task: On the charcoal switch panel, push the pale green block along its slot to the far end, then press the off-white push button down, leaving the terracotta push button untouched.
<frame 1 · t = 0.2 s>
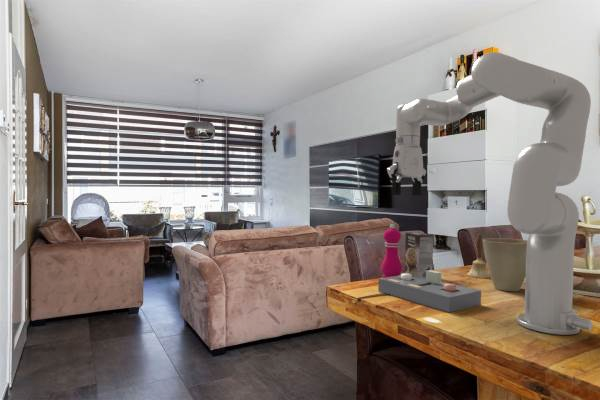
hand: (406, 195, 131), 30 cm above the table, fingers open, 9 cm apart
plant pot: (506, 289, 132), on the table
terracotta button: (449, 288, 112), point 4 cm above the table, slide at 0.0 cm
off white button: (406, 277, 126), point 4 cm above the table, slide at 0.0 cm
coffee box: (418, 277, 150), on the table
pale green block: (433, 282, 121), point 4 cm above the table, slide at 0.0 cm
hand bell: (478, 276, 152), on the table
switch panel: (426, 297, 119), on the table
pepper mill: (391, 281, 142), on the table
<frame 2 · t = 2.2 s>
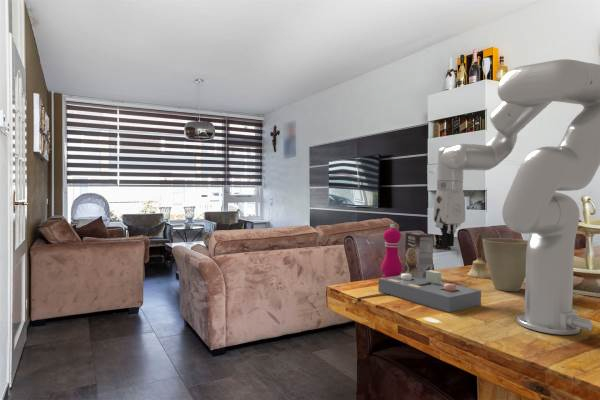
hand: (447, 245, 125), 15 cm above the table, fingers closed
nothing on the table moved.
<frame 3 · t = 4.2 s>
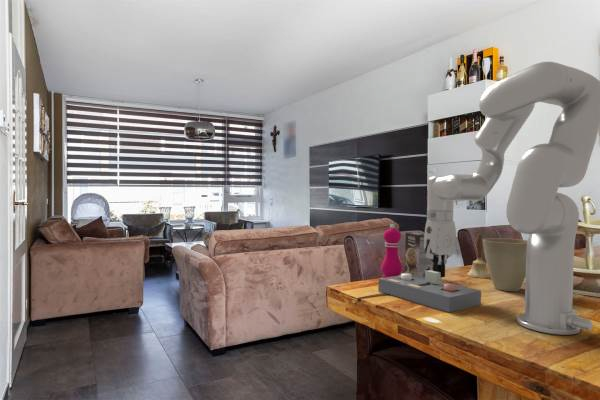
hand: (438, 276, 122), 6 cm above the table, fingers closed
pale green block: (432, 282, 121), point 4 cm above the table, slide at 0.4 cm, touching gripper
everything else where it was.
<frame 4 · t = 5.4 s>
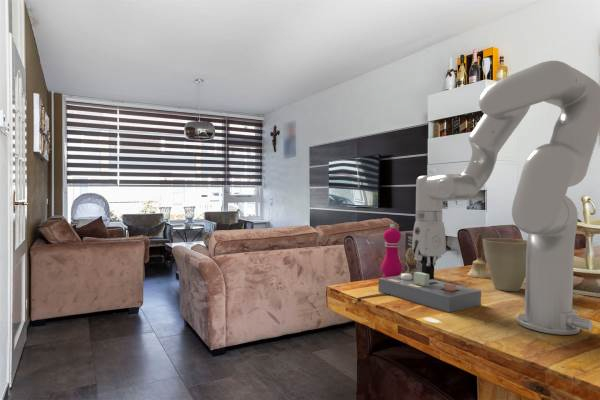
hand: (427, 278, 119), 6 cm above the table, fingers closed
pale green block: (421, 284, 118), point 4 cm above the table, slide at 5.4 cm, touching gripper
everything else where it was.
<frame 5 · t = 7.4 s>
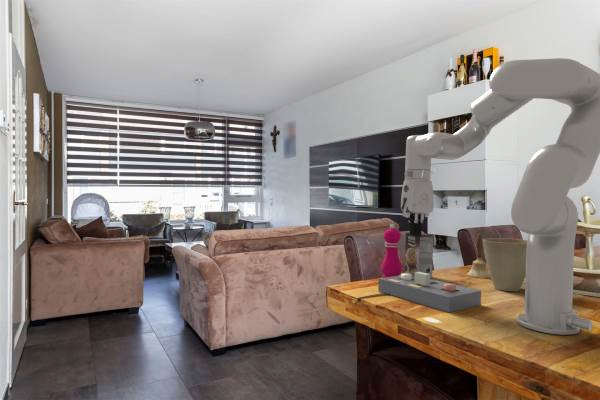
hand: (415, 235, 124), 18 cm above the table, fingers closed
pale green block: (422, 284, 118), point 4 cm above the table, slide at 5.1 cm
everything else where it was.
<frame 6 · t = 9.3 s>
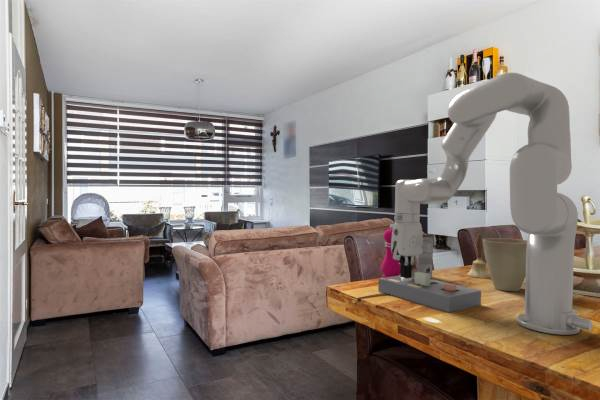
hand: (405, 277, 126), 5 cm above the table, fingers closed
off white button: (406, 280, 126), point 3 cm above the table, slide at 0.9 cm
everything else where it was.
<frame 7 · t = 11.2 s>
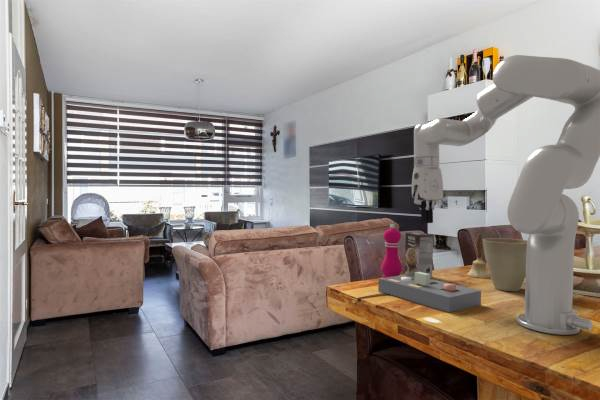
hand: (427, 222, 125), 22 cm above the table, fingers closed
nothing on the table moved.
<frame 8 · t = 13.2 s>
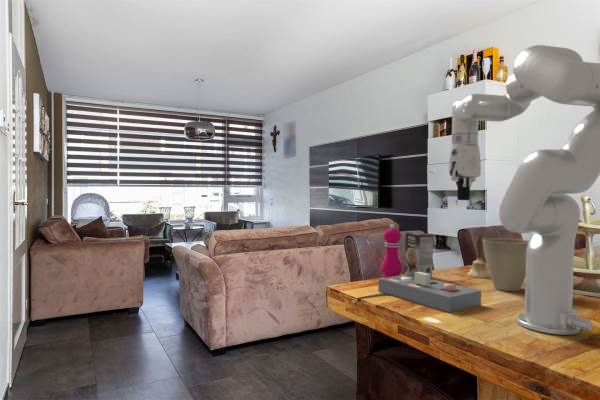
hand: (463, 200, 125), 29 cm above the table, fingers closed
nothing on the table moved.
at the end: pale green block slide at 5.1 cm; off white button slide at 1.1 cm; terracotta button slide at 0.0 cm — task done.
